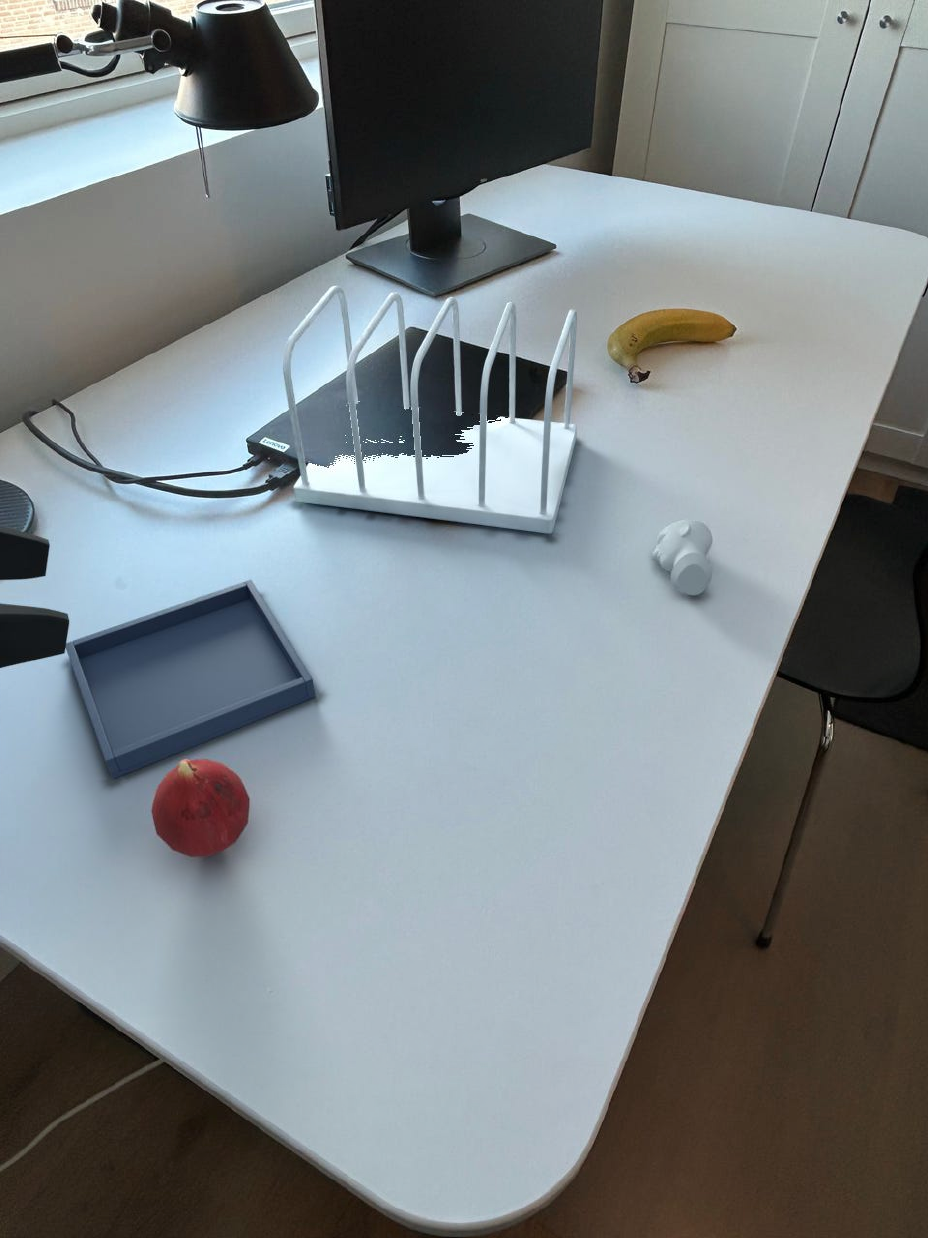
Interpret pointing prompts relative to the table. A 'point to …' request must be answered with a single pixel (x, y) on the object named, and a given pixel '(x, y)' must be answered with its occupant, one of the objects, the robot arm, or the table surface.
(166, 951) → the table surface
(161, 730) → the tray
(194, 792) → the red pomegranate
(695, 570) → the pale two-lobed sculpture
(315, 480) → the file sorter
